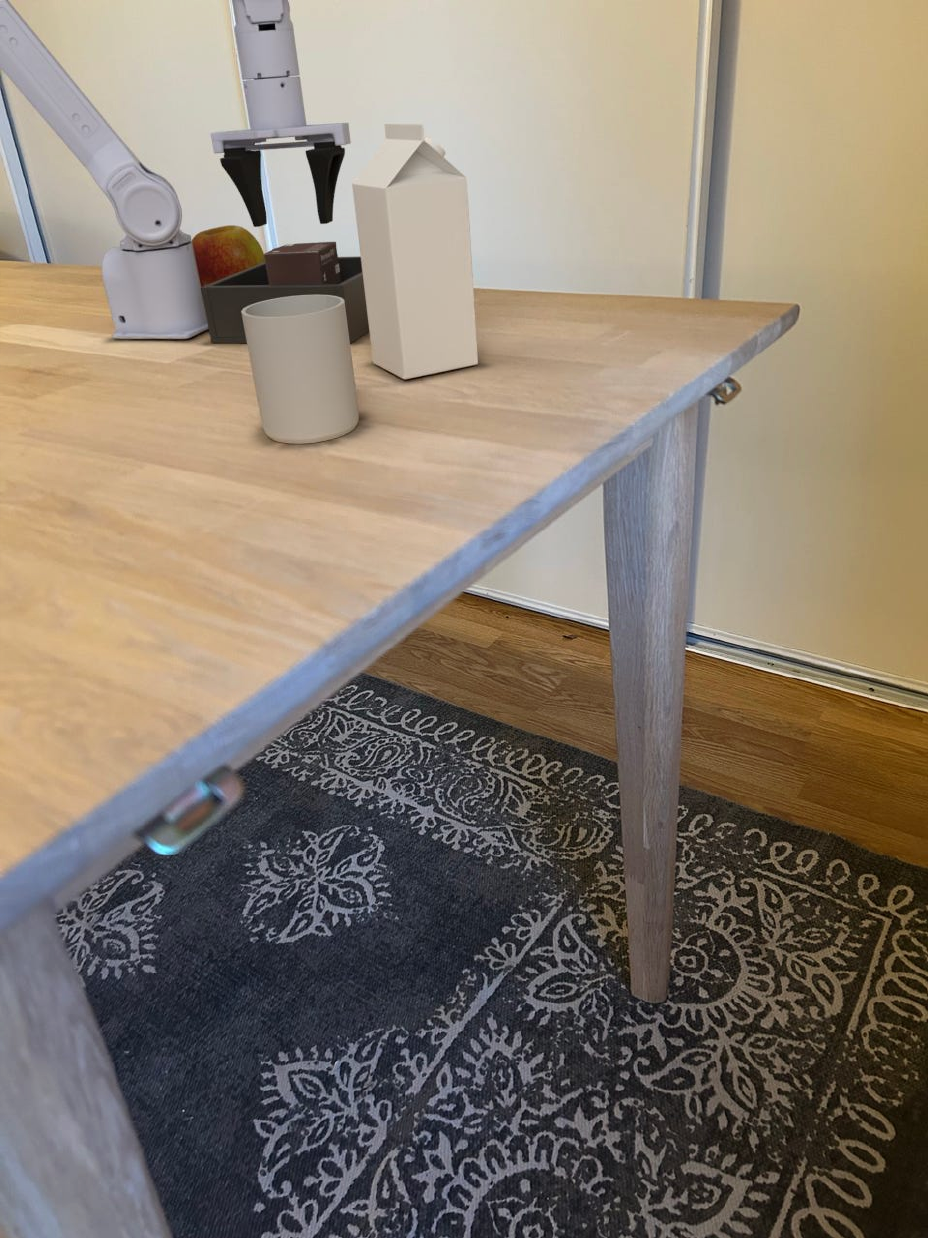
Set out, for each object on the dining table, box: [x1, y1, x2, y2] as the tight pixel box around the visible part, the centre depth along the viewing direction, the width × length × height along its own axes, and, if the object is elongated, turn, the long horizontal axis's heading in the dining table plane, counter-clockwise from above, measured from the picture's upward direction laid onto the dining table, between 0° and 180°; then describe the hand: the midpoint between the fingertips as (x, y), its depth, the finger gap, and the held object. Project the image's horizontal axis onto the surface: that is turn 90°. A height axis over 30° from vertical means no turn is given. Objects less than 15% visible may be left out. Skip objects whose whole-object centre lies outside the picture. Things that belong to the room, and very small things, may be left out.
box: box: [263, 241, 342, 285], centre depth 99 cm, size 6×6×7 cm
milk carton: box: [351, 123, 479, 380], centre depth 79 cm, size 7×7×19 cm
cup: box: [241, 295, 360, 445], centre depth 70 cm, size 7×10×9 cm
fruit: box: [191, 224, 265, 287], centre depth 116 cm, size 10×9×8 cm
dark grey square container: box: [200, 255, 370, 345], centre depth 100 cm, size 16×16×6 cm
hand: (293, 223), depth 101 cm, fingers open, 7 cm apart
